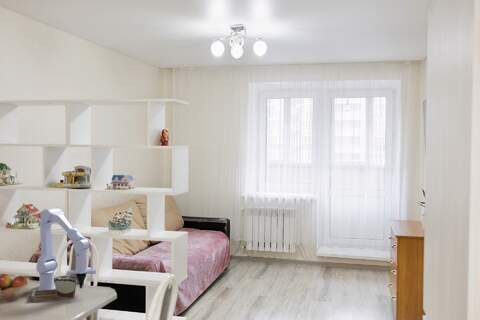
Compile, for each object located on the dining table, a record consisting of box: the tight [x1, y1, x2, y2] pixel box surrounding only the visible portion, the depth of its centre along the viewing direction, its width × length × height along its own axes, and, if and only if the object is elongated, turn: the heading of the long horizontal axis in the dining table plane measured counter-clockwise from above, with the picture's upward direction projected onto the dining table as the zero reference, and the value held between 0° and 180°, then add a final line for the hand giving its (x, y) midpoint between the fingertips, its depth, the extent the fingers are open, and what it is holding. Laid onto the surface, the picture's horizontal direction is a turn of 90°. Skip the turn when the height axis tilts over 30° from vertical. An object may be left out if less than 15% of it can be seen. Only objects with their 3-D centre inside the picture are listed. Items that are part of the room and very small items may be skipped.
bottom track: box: [30, 288, 60, 303], centre depth 241 cm, size 11×13×3 cm
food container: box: [54, 275, 79, 299], centre depth 245 cm, size 12×6×10 cm, turn 81°
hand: (80, 287), depth 246 cm, fingers closed
